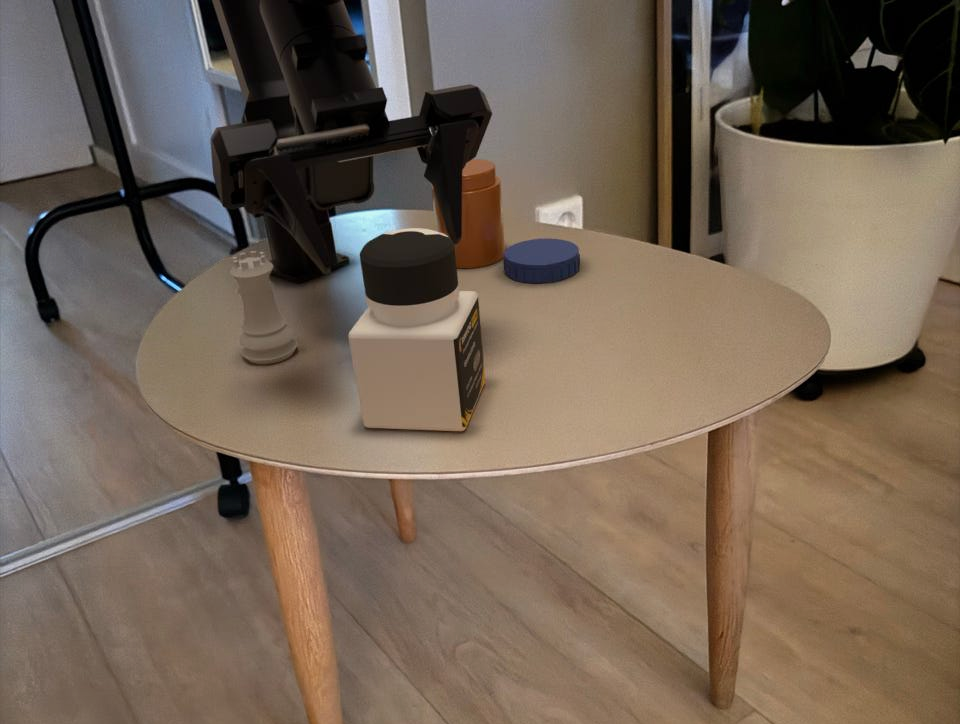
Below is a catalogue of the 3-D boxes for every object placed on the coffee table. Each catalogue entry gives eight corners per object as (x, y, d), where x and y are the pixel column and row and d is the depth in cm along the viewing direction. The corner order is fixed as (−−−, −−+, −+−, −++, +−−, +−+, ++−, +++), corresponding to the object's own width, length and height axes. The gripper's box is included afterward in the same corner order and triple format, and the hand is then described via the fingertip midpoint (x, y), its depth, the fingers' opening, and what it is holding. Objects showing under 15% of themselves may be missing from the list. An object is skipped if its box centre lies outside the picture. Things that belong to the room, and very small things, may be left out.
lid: (586, 278, 81) (586, 260, 80) (509, 287, 81) (508, 268, 80) (571, 252, 87) (571, 234, 86) (500, 260, 86) (498, 242, 86)
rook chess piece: (282, 367, 71) (260, 268, 66) (232, 364, 72) (207, 266, 68) (308, 343, 74) (288, 247, 70) (259, 339, 76) (237, 245, 71)
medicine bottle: (465, 433, 60) (447, 258, 54) (362, 429, 62) (333, 258, 55) (486, 382, 66) (472, 218, 59) (392, 379, 68) (368, 219, 61)
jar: (425, 259, 88) (415, 171, 84) (471, 240, 92) (464, 154, 87) (472, 273, 84) (464, 181, 80) (519, 252, 88) (513, 162, 83)
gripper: (425, 108, 74) (492, 280, 71) (192, 149, 68) (256, 337, 66) (453, 5, 63) (533, 203, 61) (180, 44, 58) (256, 264, 55)
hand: (394, 255), depth 61 cm, fingers open, 9 cm apart
